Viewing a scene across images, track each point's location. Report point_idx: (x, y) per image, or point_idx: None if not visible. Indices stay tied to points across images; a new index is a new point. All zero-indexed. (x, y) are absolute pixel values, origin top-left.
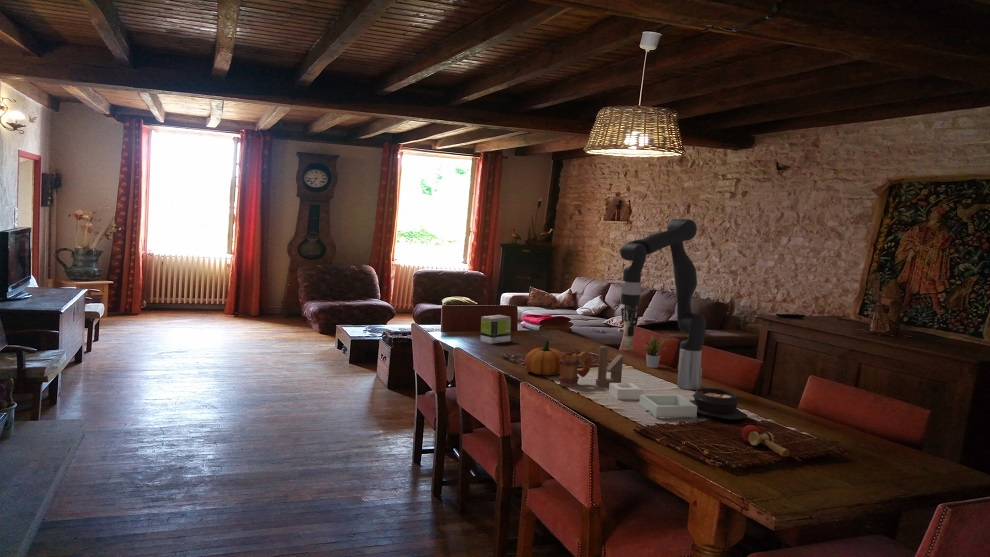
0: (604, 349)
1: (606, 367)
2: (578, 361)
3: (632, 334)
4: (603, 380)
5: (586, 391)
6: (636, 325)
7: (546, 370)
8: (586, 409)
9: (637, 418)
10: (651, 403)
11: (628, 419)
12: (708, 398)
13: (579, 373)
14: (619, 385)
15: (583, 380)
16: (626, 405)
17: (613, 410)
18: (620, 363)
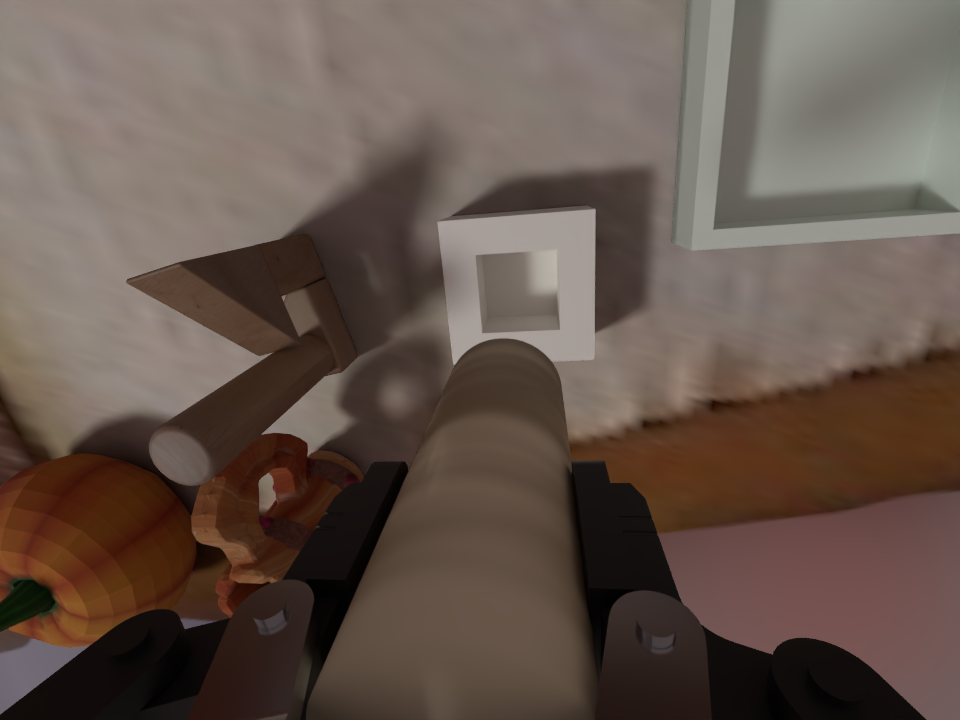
0: (224, 453)
1: (286, 365)
2: (265, 524)
3: (636, 500)
4: (332, 352)
5: (413, 427)
6: (864, 669)
7: (192, 549)
8: (703, 501)
9: (888, 324)
10: (885, 237)
11: (892, 373)
12: None
13: (300, 473)
14: (480, 313)
15: (213, 388)
16: (656, 309)
17: (734, 397)
18: (231, 270)
